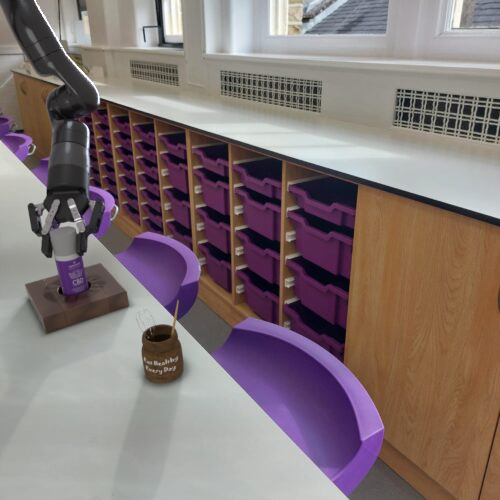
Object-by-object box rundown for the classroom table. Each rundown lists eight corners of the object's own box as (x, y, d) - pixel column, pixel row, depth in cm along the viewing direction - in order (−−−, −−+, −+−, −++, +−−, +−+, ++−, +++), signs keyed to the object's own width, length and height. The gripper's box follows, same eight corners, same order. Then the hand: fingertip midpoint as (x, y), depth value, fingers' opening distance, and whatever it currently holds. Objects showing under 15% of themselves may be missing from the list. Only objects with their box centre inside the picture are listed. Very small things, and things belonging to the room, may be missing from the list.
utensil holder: (147, 361, 76) (136, 295, 71) (187, 358, 77) (179, 291, 72) (142, 386, 71) (130, 316, 66) (185, 383, 71) (177, 313, 66)
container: (80, 311, 91) (64, 237, 84) (60, 307, 92) (43, 234, 86) (96, 298, 95) (81, 227, 88) (76, 295, 96) (61, 225, 90)
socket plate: (46, 335, 84) (42, 317, 83) (28, 299, 95) (24, 284, 94) (129, 307, 91) (126, 291, 90) (103, 277, 103) (100, 262, 101)
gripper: (22, 164, 89) (14, 251, 83) (101, 159, 90) (98, 245, 84) (38, 183, 96) (31, 265, 90) (111, 179, 97) (109, 260, 91)
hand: (64, 255), depth 87 cm, fingers open, 5 cm apart
